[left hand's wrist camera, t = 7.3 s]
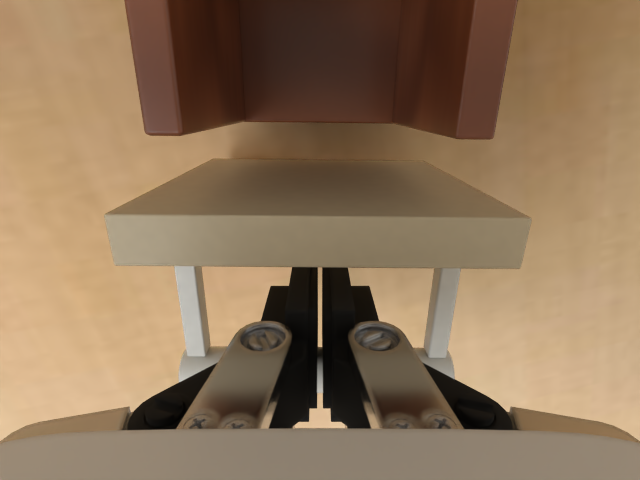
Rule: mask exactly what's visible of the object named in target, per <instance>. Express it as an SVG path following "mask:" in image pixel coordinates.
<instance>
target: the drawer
mask: <svg viewBox="0 0 640 480" xmlns="http://www.w3.org/2000/svg"><path fill="white" fill-rule="evenodd" d="M517 1H518V0H125V7H126V13H127V20H128V26H129V33H130V39H131V45H132V52H133V58H134V65H135V71H136V78H137V84H138V91H139V97H140V104H141V110H142V117H143V123H144V129H145V132H146V134H148V135H150V136H182V135H186V134H191V133H195V132H200V131H204V130H209V129H213V128H218V127H222V126H227V125H231V124H236V123H240V122H316V123H394V124H398V125H402V126H406V127H410V128H414V129H418V130H422V131H427V132H431V133H435V134H439V135H443V136H447V137H451V138H455V139H492V138H493V137H494V132H495V127H496V121H497V115H498V109H499V104H500V98H501V92H502V87H503V81H504V75H505V70H506V64H507V58H508V52H509V47H510V41H511V35H512V30H513V24H514V18H515V13H516V7H517ZM104 217H105V222H106V227H107V232H108V236H109V241H110V246H111V251H112V256H113V260H114V264H115V265H116V266H174V268H175V274H176V281H177V288H178V295H179V302H180V309H181V316H182V323H183V329H184V336H185V343H186V350H185V351H184V353H183V355H182V358H181V362H180V367H179V382H181V381H183V380H185V379H187V378H189V377H191V376H193V375H195V374H196V373H198V372H200V371H202V370H204V369H206V368H208V367H210V366H212V365H214V364H216V363H217V362H218V361H219V360H220V358H221V357H222V355H223V353H224V352H225V350H226V349H227V347H214V346H210V336H209V328H208V319H207V310H206V302H205V293H204V285H203V276H202V267H201V266H227V267H349V268H434V274H433V281H432V289H431V296H430V303H429V311H428V318H427V326H426V333H425V340H424V348H413V349H414V350H415V352H416V353H417V355H418V357H419V358H420V360H421V361H422V362H423V363H425V364H426V365H428V366H430V367H432V368H434V369H436V370H438V371H440V372H442V373H444V374H446V375H447V376H449V377H451V378H453V379H455V375H454V366H453V362H452V358H451V356H450V353H449V352H448V350H447V349H448V343H449V337H450V331H451V325H452V319H453V313H454V307H455V301H456V295H457V289H458V282H459V276H460V270H461V268H471V269H520V268H521V264H522V260H523V256H524V251H525V247H526V242H527V238H528V234H529V229H530V225H531V221H532V220H531V218H530V217H528V216H526V215H524V214H523V213H521V212H519V211H517V210H515V209H513V208H511V207H509V206H507V205H506V204H504V203H502V202H500V201H498V200H496V199H494V198H492V197H491V196H489V195H487V194H485V193H483V192H481V191H479V190H477V189H475V188H474V187H472V186H470V185H468V184H466V183H464V182H462V181H460V180H459V179H457V178H455V177H453V176H451V175H449V174H447V173H445V172H444V171H442V170H440V169H438V168H436V167H434V166H432V165H430V164H428V163H427V162H425V161H380V160H285V159H212V160H210V161H208V162H206V163H204V164H202V165H200V166H198V167H196V168H194V169H192V170H190V171H188V172H186V173H184V174H182V175H180V176H178V177H176V178H175V179H173V180H171V181H169V182H167V183H165V184H163V185H161V186H159V187H157V188H155V189H153V190H151V191H149V192H147V193H145V194H143V195H141V196H139V197H137V198H135V199H133V200H131V201H129V202H128V203H126V204H124V205H122V206H120V207H118V208H116V209H114V210H112V211H110V212H108V213H106V214H105V215H104ZM317 393H323V350H322V347H318V353H317Z"/></svg>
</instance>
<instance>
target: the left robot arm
mask: <svg viewBox="0 0 640 480" xmlns="http://www.w3.org/2000/svg"><path fill="white" fill-rule="evenodd" d="M322 350H323V408H331V422H342V423H344V424H345V428H295V424H296V423H298V422H309V408H317V353H318V267H292V272H291V278H290V284H289V286H271V287H270V291H269V294H268V298H267V301H266V305H265V308H264V312H263V316H262V319H261V321H260V322H254V323H251V324H249V325H246V326H245V327H243V328H241V329H240V330H239V331H238V332H237V333H236V334H235V336H234V338H233V339H232V341H231V342H230V344H229V345H228V347H227V349H226V350H225V352H224V353H223V355H222V357H221V358H220V360H219V361H218V362H217V363H216V364H214V365H212V366H210V367H208V368H206V369H204V370H202V371H200V372H198V373H196V374H195V375H193V376H191V377H189V378H187V379H185V380H183V381H181V382H179V383H177V384H175V385H174V386H172V387H170V388H168V389H166V390H164V391H162V392H160V393H158V394H156V395H154V396H153V397H151V398H149V399H148V400H146V401H145V402H143V403H142V404H141V405H140V406H139V407H138V408H137V409H136V410H135V411H134V412H130V407H124V408H118V409H112V410H106V411H101V412H95V413H89V414H83V415H77V416H72V417H66V418H60V419H54V420H48V421H42V422H38V423H34V424H31V425H27V426H25V427H23V428H21V429H19V430H17V431H15V432H13V433H11V434H10V435H8V436H7V437H6V438H4V439H3V440H1V441H0V480H640V441H639V440H637V439H636V438H634V437H633V436H632V435H630V434H629V433H627V432H625V431H623V430H621V429H619V428H617V427H615V426H613V425H609V424H606V423H602V422H598V421H592V420H586V419H580V418H574V417H568V416H563V415H557V414H551V413H545V412H539V411H534V410H528V409H522V408H516V407H511V408H510V412H506V411H505V410H504V409H503V408H502V407H501V406H500V405H499V404H498V403H497V402H495V401H494V400H492V399H491V398H489V397H487V396H486V395H484V394H482V393H480V392H478V391H476V390H474V389H472V388H470V387H468V386H467V385H465V384H463V383H461V382H459V381H457V380H455V379H453V378H451V377H449V376H447V375H446V374H444V373H442V372H440V371H438V370H436V369H434V368H432V367H430V366H428V365H426V364H425V363H423V362H422V361H421V360H420V358H419V357H418V355H417V353H416V352H415V350H414V349H413V347H412V345H411V344H410V342H409V341H408V339H407V338H406V336H405V334H404V333H403V332H402V331H401V330H400V329H399V328H397V327H395V326H394V325H391V324H389V323H386V322H380V321H379V319H378V316H377V312H376V308H375V305H374V301H373V298H372V294H371V290H370V287H369V286H351V284H350V278H349V272H348V267H322Z"/></svg>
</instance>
